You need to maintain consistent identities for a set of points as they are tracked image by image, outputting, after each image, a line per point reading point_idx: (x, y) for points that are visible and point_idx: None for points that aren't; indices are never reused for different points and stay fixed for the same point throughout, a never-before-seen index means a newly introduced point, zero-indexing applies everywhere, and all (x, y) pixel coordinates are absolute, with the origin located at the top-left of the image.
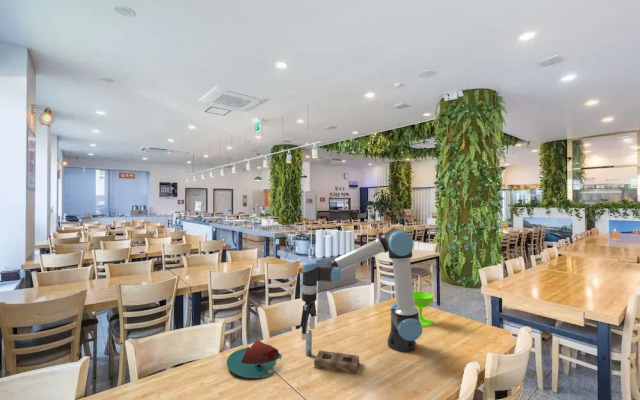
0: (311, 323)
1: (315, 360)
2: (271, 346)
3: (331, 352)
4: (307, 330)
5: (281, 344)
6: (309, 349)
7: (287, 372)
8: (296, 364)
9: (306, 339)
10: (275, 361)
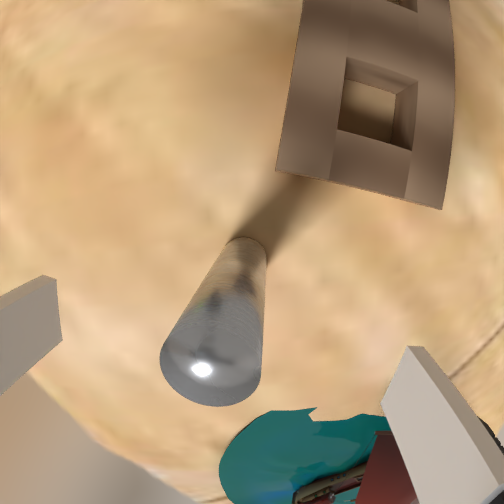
0: (13, 352)
1: (442, 199)
2: (360, 496)
3: (302, 62)
4: (177, 390)
5: (145, 418)
6: (264, 267)
7: (446, 346)
8: (378, 321)
9: (425, 354)
10: (338, 422)
